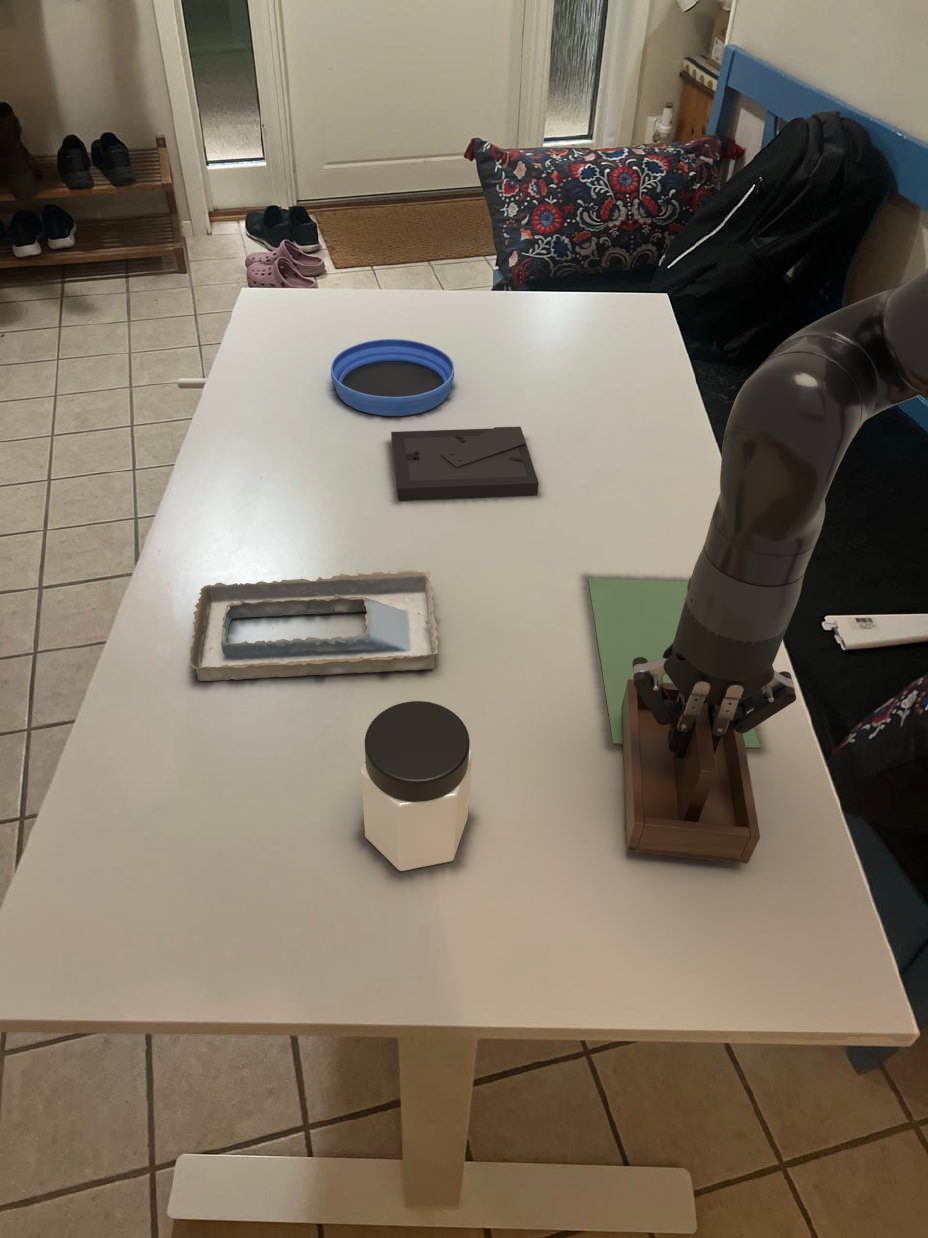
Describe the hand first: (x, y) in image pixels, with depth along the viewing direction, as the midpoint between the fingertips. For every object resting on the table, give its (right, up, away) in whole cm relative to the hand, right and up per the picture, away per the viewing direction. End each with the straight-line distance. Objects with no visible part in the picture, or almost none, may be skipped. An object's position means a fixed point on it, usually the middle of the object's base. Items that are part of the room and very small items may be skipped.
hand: (689, 751), depth 77 cm
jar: (-24, -7, 0) cm, 24 cm away
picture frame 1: (-35, +10, +17) cm, 40 cm away
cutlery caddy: (0, -3, +3) cm, 4 cm away
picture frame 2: (-20, +31, +40) cm, 55 cm away
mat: (+2, +7, +16) cm, 18 cm away
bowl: (-30, +46, +55) cm, 78 cm away
